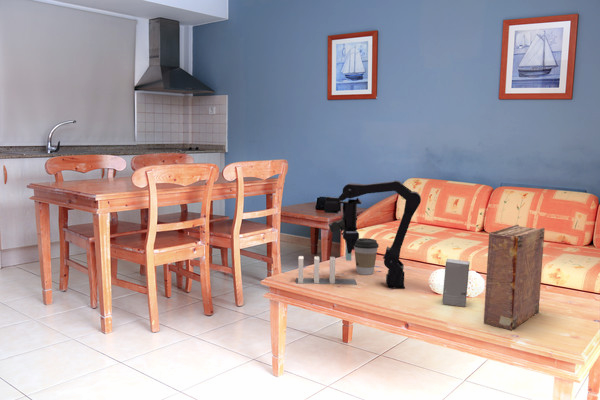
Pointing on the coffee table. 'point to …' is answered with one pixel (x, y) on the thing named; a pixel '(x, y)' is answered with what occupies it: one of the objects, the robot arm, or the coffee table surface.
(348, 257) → the teal domino
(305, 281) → the mat
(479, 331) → the coffee table surface
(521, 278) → the book
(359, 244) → the coffee cup
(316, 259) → the ivory domino
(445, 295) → the skincare box
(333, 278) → the ivory domino
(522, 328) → the coffee table surface
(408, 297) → the coffee table surface
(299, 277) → the ivory end domino
